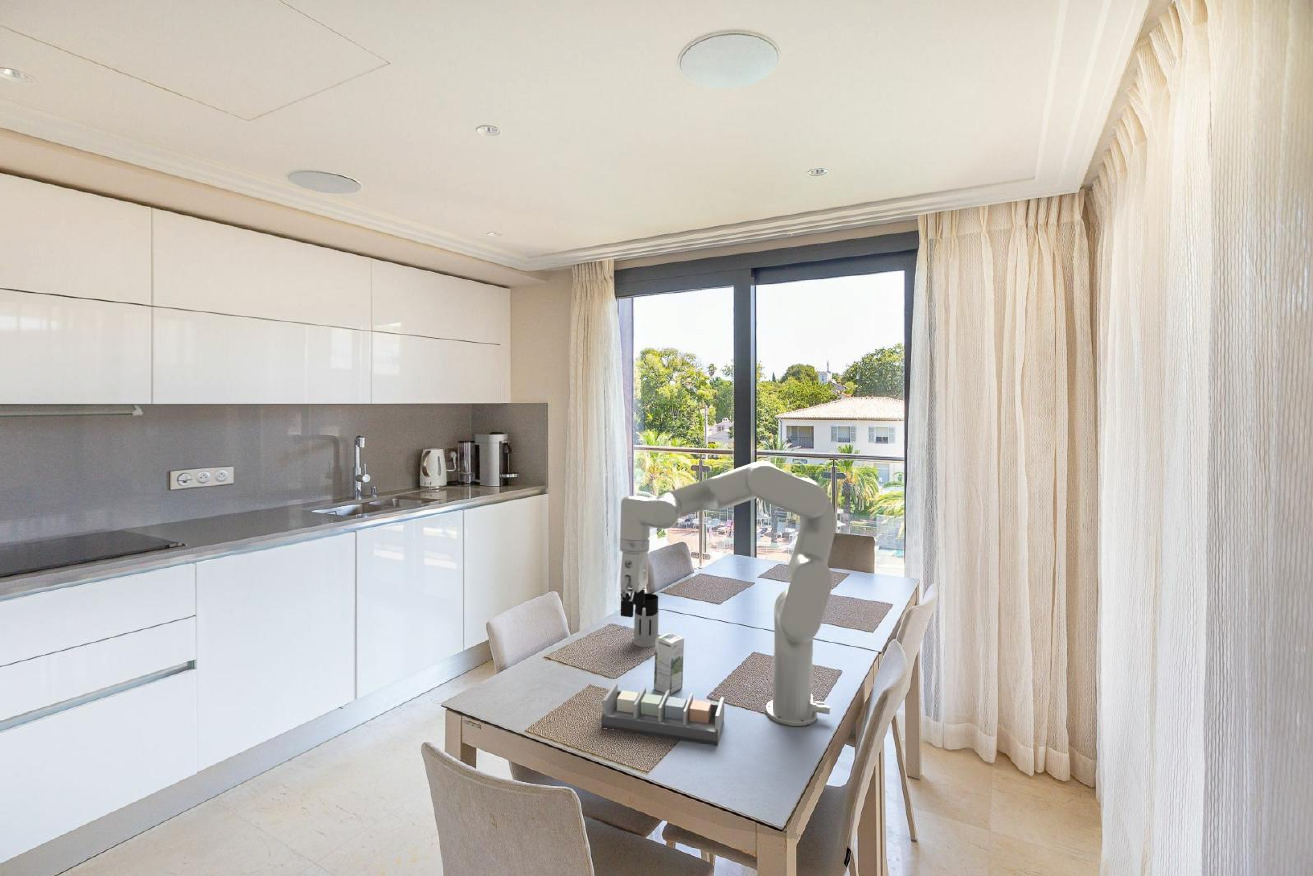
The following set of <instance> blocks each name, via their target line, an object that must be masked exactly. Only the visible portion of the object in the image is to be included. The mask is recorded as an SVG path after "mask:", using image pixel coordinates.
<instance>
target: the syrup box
mask: <svg viewBox="0 0 1313 876" xmlns="http://www.w3.org/2000/svg"><path fill="white" fill-rule="evenodd" d="M654 647H655V648H654V671H653V672H654V676H653V689H654V690H656V691H658V692H660V693H664V694H665V693H666V691H667V690H669V696H671V695H673V694H675V693H676V692H678V691H680V690H682V688H683V683H684V682H683V679H684V677H683V675H684V653H685V652H684V651H685V638H684V637H682V636H680V635H678V634H675V633H671V632H667V633H665V634H663V635H660V636H658V638H656V640H655V646H654Z"/></svg>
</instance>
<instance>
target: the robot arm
mask: <svg viewBox="0 0 1313 876" xmlns="http://www.w3.org/2000/svg"><path fill="white" fill-rule="evenodd" d="M756 499H759V500H761V501H763V502H766V503H768V504H769V505H772V506H774V507H777V508H779V509H782V510H784V511H786V512H789V513H791V514H793V515H796V516H798V517H799V518H800V523H799V530H798V534H797V539H796V542H795V545H794V548H793V551H792V554H791V556H790V560H789V562H788V566H787V567H788V568H787V573H788V576H789V579H790V582H789V586H788V589H785V590H784V591H781V593H780V594H779V595H778V596H777V598H776V600H775V602H774V606H773V607H774V609H773V613H774V614H773V618H774V619H773V620H774V628H773V630H774V631H773V632H774V637H773V638H774V639H773V640H774V642H773V643H774V646H773V647H774V648H773V670H772V673H773V674H772V700H770V701H769V702H767V704H766V706H765V713H766V715H767V716H768V717H769V718H770V719H771V720H773V721H775V722H777V723H779V724H782V725H786V726H790V727H804V726H808V725H811V724H813V723H815V722H816V721H817V718H818V713H819V714H823V715H830V713H831V712H830V709H831V707H830V705H825V701H816V700H815V699H813V694H812V684H813V656H814V653H813V652H814V638H815V637H816V635H817V634H818V633H819V630H820V629H821V626H822V623H823V619H824V615H825V614H826V609H827V605H828V602H829V599H830V595H831V592H832V587H833V576H832V572H831V568H829V565H828V564H829V563H828V562H829V558H830V554H831V550H832V546H833V543H834V538H835V533H836V526H837V525H836V523H837V522H836V514H835V509H834V506H833V504H832V501H831V498H830V497H829V496H828V494H827V492H826V491H825V489H824V488H823V487H822V486H821V485H820V484H819V483H818V482H816V481H815V480H813V479H811V478H809V477H798V476H796V475H794V474H792V473H788V472H787V471H784V470H782V469H780V468H778V467H776V466H775V465H774V464H773V463H771V462H769V461H766V460H759V461H756V462H751V463H749V464H746V465H743V466H741V467H737V468H735V469H732V470H730V471H727V472H723V473H721V474H718V475H715V476H711V477H709V478H706V479H703V480H700V481H699V482H695V483H691V484H688V485H685V486H682V487H680V488H676V489H673V490H670V491H668V492H665V493H663V494H660V495H659V496H657V497H656V498H655V499H649V498H648V497H646V496H641V495H628V496H624V497H623V498H622V499H621V502H620V532H619V551H620V552H621V553H622V555H621V564H620V565H621V566H620V584H619V585H620V592H621V593H620V616H621V617H625V618H633V617H634V612H635V608H634V607H635V604H636V605H644V600H645V592H646V590H645V588H646V586H647V585H648V584H649V554H648V553H649V551H650V533H651V532H650V529H651V528H656V529H662V530H666V529H670V528H672V527H674V526H676V524H677V522H678V521H679V519H680V518H683V517H685V516H689V515H692V514H694V513H698V512H702V511H708V510H709V511H710V510H712V511H720V510H726V509H728V508H732V507H734V506H736V505H741V504H742V503H746V502H749V501H751V500H752V501H753V500H756Z"/></svg>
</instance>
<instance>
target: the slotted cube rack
mask: <svg viewBox="0 0 1313 876" xmlns="http://www.w3.org/2000/svg"><path fill="white" fill-rule="evenodd" d="M618 685H619V684H618V683H617V682H614V683H613V685H612V686H611V688H610V689H609V691H608V692H607V693H606V695H605V696H604V698H603V699H602V714H601V722H600V723H601V727H600V728H607V729H606V730H608V729H614V730H613V731H615V730H620V731H619V732H622V731H624V732H623V733H628V732H631V733H630V734H635V733H636V734H637V735H642V736H649V737H657V738H662V739H671V740H676V741H682V742H683V741H684V742H690V743H696V744H697V743H698V744H703V745H704V744H705V745H710V746H715V747H716V746H717V747H718V745H719V742H720V738H721V734H722V730H723V726H724V723H725V696H724V697H723V696H721V697H720V699H719V702H718V703H716V702H711V716H710V719H709V722H708V723H702V722H695V721H690V707H691V704H692V702H693V700H694V692H692V693H690V694H689V696H688V699H687V703H686V706H685V708H684V711H683V720H681V719H673V718H666V717H665V704H666V702H667V700H668V698H669V697H670V695H669V690H667V691H666V693H664V695H663V699H662V701H661V703H660V705H659V707H658V716H652V715H645V714H641V701H642V699H643V697H644V695H645V694H647V687H646V686H643V688H642V690H641V691H640V692H638V693H639V696H638V698H637V700H636V701H635V703H634V713H631V712H624V711H617V698H618V696H619V695H620V693H621V692H622V690H618V689H619V688H618Z"/></svg>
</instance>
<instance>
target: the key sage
mask: <svg viewBox="0 0 1313 876" xmlns="http://www.w3.org/2000/svg"><path fill="white" fill-rule="evenodd" d="M663 697H664V695H659V694H650V693H646V694H645V695H644V697H643V699H642V701H641V714H645V715H652V716H658V707H659V705H660V703H661V701H662V699H663Z"/></svg>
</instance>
